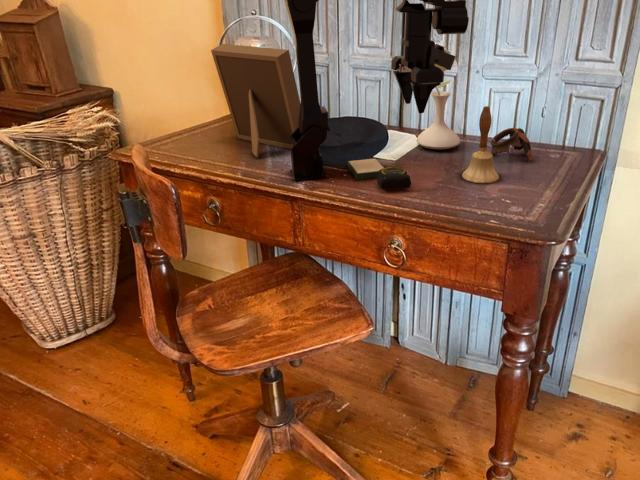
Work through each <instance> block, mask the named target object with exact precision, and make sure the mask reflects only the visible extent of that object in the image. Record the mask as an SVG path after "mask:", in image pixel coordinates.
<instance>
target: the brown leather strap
mask: <svg viewBox="0 0 640 480" xmlns="http://www.w3.org/2000/svg"><path fill="white" fill-rule="evenodd" d="M508 136H509V138H507V139H505V140H503V141H500V140H502V139H504V138H505V137H508ZM490 145H491V148H490V153H491V154H492V156H495V155H498V154H503V153H506V154H510V147H511V146H512V147H513V150H515V151H521V150H523V155H524V156H526V157H527V162H531V161H532V159H533V150H532V147H531V146H532V145H531V142H530V140H529V138H528V136H527V135H526V133H525V130H524V129H523V128H521V127H509V128H506V129H503V130H501V131H500V132H498V133H496V135H494V136H493V139H491V141H490Z"/></svg>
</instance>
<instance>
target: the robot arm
mask: <svg viewBox="0 0 640 480" xmlns="http://www.w3.org/2000/svg"><path fill="white" fill-rule="evenodd" d="M319 1H320V0H284V3H285V7H286V11H287V14H288V15H287V16H288V18H289V22H290V25H291V28H292V29H291V30H292V31H293V37H294V47H295V55H296V66H297V76H298V85H299V86H298V87H299V94H300V95H299V97H300V111H299V123H298V128H297V129H296V130H295V131H294V132H293V133H292V135H291V136H290V139H291V142H292V145H293V148H291V149H289V150H290V161H291V162H290V163H291V169H290V174H291V176H292V177H293V180H294V181H305V180H314V179H322V178H323V173H324V166H323V165H324V164H323V163H324V162H323V155H322V154H321V151H320V150H321V149H320V147H321V145H322V144H323V143H324V142H325V141H326V140H327V137H328V132H330V131H331V129H330V127H329V111H328V110H327V109H326V107H325V106H324V105H323V106H321V105H320V100H319V99H320V98H319V90H318V88H319V87H318V79H317V78H318V77H317V65H316V55H315V44H314V30H315V29H314V28H315V22H316V14H317V13H316V12H317V11H316V10H317V3H318V2H319ZM424 4H427V5H432V6H434V7H425V5H424ZM466 5H467V0H419V2H409V0H402V1H401V3H400V4H399V5H398V6H396V7H395V11H396V12H398V13H402V14H403V13H404V14H405V16H404V17H405V19H404V22H405V23H404V38H401V45H403V55H395V56H394V57H393V58H392V59H391V61H390V68H391V70H392V74H394V77H395V80H396V82H397V84H398V87H399V90H400V93H401V94H402V95H401V96H402V97H403V101H404V103H405V105H410V104H411V102H412V99H413V98H414V101H415V105H416V109H417V112H418V114H424V113H425V110H426V107H427V104H428V102H429V99H430V96H431V93H432V92H433V90H434V89H436V88H435V87H436V86H437V87H439V86H440V85H441V84H442V83H444V82H445V71H444V72H443V71H442V70H441V69H440V68H438V67H436V66H435V64H437V65H439V66H441V67H444V68H446V69H448V70H447V71H451V70H452V68H453V65H454V63H455V60H456V58H457V56H456V55H453V54H452V53H450V52H447V53H446V52H444V50H445V46H443V45H440V44H439V43H438V44H437V43H436V42H435V41H434V40H432V29H433V30H435V31H436V33H437V34H438V35H464V34H466V32H467V30H468V27H469V21H470V20H469V19H470V18H469V13H468V8H467V6H466ZM412 96H413V98H412Z"/></svg>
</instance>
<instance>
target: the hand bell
mask: <svg viewBox="0 0 640 480" xmlns="http://www.w3.org/2000/svg"><path fill="white" fill-rule="evenodd" d="M478 126H479V127H478V128H479V133H480V139H479V149H478V151H475V152H473V153H472V156H471V160H470V164H469V166H468V167H467V168H466V170H464V171H463V173H461V177H462V179H464V180H465V181H467V182H470V183H474V184H491V183H492V184H493V183H495V182H497V181H499V179H500V176H499V173H498V172H497V171H496V170H495V168H494V161H493V157H494V155H493V154H492V153H491V152H489V151H488V138H489V134H490V131H491V126H492V114H491V107H490V106H488V105H487V106H486V105H485V106H483V108H482V111H481V113H480V116H479V121H478Z"/></svg>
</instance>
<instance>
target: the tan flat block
mask: <svg viewBox="0 0 640 480" xmlns="http://www.w3.org/2000/svg"><path fill="white" fill-rule="evenodd" d="M346 163H347V169H348V170H349V172H351V174H352V175H353V176H354V178H355V179H356V181H361V180H370V179H377V173H378V171H379V170H381V169H383V168H384V166H383V165H382V164H381V163H380V162H379V161H378V160H377V159H376V158H366V159H357V160H348V161H347V162H346Z"/></svg>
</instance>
